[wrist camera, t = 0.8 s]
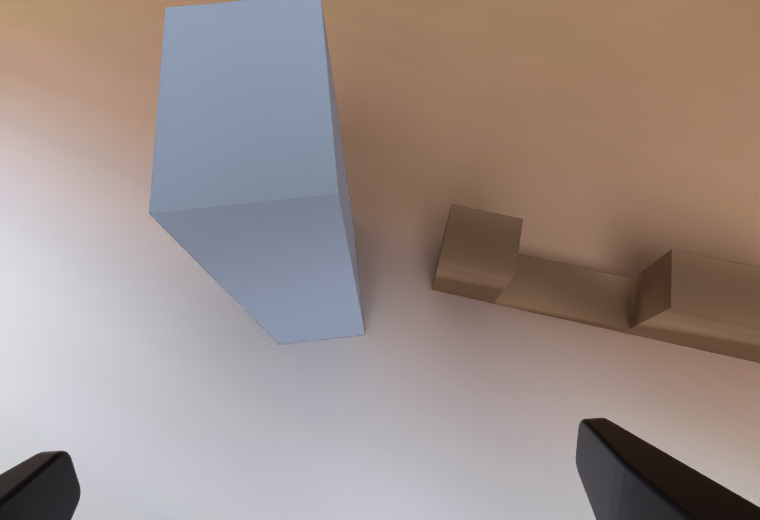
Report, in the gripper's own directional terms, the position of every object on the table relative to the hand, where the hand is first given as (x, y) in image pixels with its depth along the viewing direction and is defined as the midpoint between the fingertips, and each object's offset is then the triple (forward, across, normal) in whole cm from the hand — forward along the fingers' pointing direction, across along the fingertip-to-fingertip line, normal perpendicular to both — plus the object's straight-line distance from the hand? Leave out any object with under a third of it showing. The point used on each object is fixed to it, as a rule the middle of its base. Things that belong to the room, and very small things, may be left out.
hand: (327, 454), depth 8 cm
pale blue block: (+15, +2, +2) cm, 15 cm away
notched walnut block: (+14, -12, +4) cm, 18 cm away
